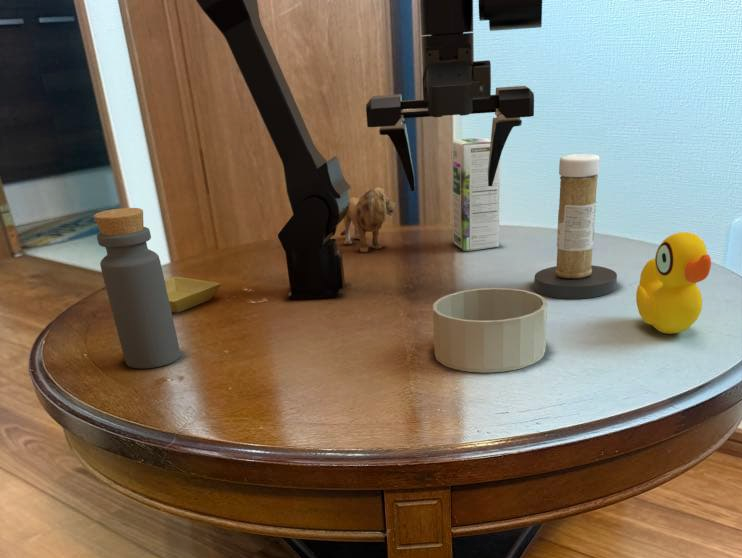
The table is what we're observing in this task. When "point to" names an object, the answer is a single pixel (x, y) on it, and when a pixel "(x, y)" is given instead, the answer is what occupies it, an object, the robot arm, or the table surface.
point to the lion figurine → (367, 216)
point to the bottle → (136, 290)
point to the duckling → (673, 283)
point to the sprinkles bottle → (576, 214)
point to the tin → (490, 329)
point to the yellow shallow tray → (189, 292)
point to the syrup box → (474, 196)
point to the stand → (575, 284)
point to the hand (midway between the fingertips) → (451, 188)
